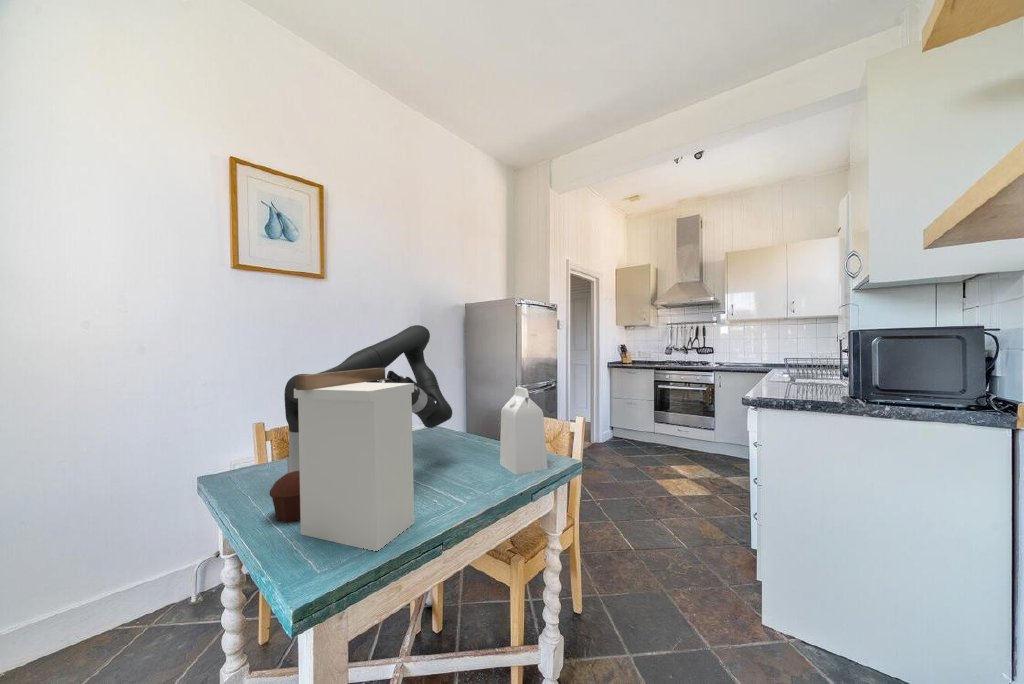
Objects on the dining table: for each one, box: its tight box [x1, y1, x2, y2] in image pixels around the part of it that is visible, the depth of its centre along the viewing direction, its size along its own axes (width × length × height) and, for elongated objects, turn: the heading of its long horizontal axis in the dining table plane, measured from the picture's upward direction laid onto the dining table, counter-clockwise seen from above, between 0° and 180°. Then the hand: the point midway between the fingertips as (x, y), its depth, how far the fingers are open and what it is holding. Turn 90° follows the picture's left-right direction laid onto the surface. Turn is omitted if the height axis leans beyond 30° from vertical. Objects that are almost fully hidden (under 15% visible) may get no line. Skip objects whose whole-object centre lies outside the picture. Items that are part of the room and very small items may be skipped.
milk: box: [499, 386, 549, 476], centre depth 120 cm, size 12×12×26 cm
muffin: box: [269, 471, 301, 523], centre depth 89 cm, size 12×11×10 cm
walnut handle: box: [294, 368, 386, 390], centre depth 87 cm, size 3×24×3 cm, turn 159°
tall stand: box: [294, 382, 415, 552], centre depth 81 cm, size 21×14×32 cm, turn 69°
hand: (375, 373), depth 96 cm, fingers open, 8 cm apart
